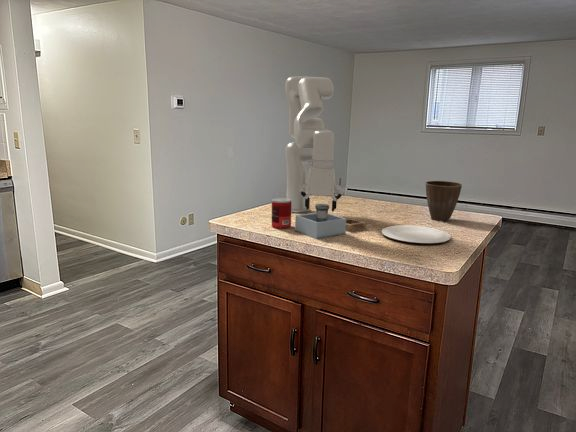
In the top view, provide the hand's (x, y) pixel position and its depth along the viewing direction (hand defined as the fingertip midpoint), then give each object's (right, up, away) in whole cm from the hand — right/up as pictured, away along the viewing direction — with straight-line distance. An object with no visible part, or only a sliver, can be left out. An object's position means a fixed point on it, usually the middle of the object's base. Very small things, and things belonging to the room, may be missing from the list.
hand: (320, 209), depth 168 cm
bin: (0, -9, +1) cm, 9 cm away
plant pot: (+55, -4, +27) cm, 61 cm away
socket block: (+13, -7, +9) cm, 17 cm away
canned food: (-15, -7, +9) cm, 19 cm away
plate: (+35, -11, -1) cm, 37 cm away
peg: (0, -8, +1) cm, 8 cm away
